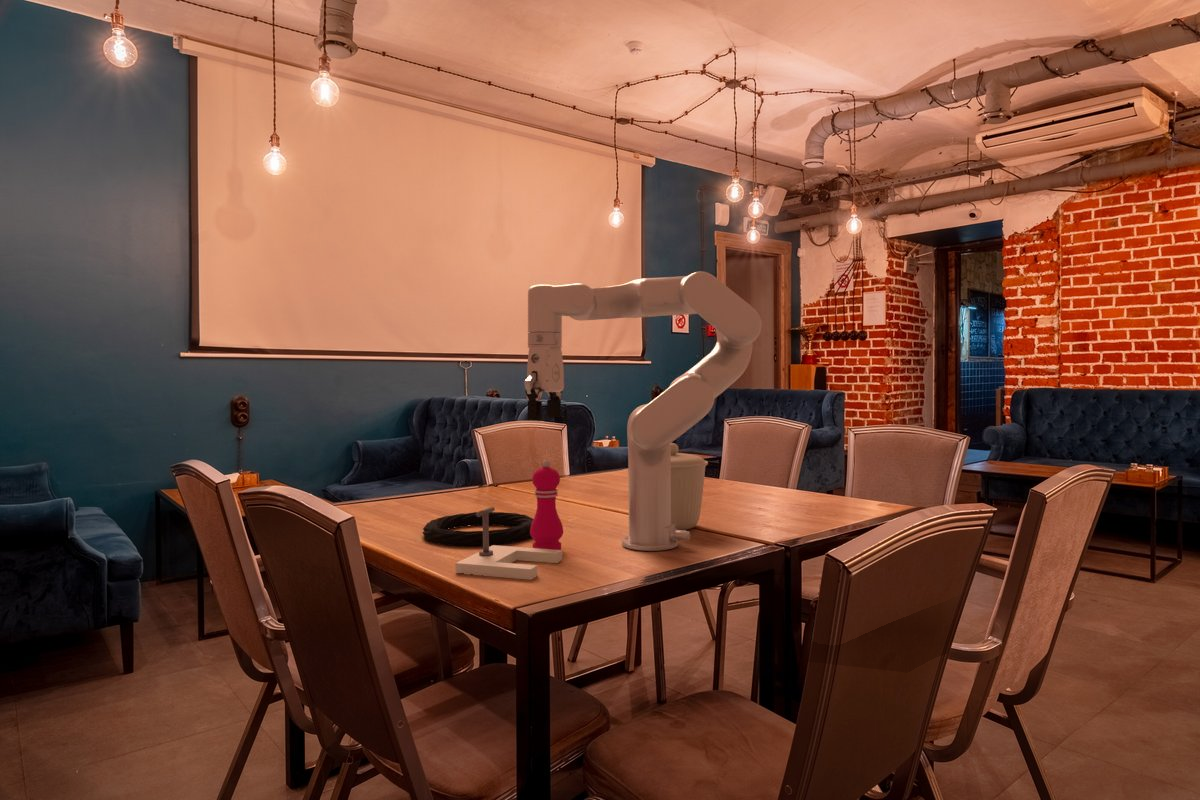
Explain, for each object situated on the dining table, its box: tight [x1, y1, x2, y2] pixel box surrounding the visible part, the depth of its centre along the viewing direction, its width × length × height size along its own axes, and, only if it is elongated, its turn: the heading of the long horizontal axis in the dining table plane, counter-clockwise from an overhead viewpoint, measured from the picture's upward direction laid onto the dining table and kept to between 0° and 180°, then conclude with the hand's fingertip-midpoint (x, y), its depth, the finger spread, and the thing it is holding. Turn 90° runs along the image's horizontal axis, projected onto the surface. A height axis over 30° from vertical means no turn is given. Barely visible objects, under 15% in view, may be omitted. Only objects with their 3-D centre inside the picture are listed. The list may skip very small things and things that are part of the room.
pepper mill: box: [530, 459, 564, 550], centre depth 165 cm, size 7×7×20 cm
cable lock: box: [422, 511, 534, 548], centre depth 184 cm, size 28×4×30 cm
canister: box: [670, 442, 709, 530], centre depth 190 cm, size 18×18×21 cm
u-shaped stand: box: [455, 506, 563, 581], centre depth 153 cm, size 16×16×11 cm
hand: (544, 418), depth 170 cm, fingers open, 9 cm apart
